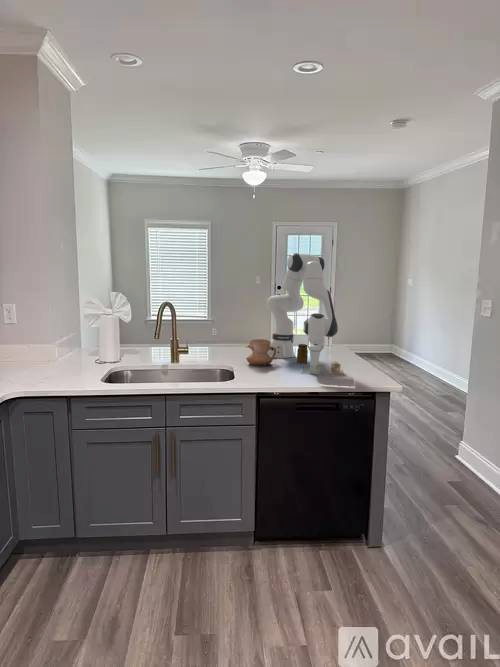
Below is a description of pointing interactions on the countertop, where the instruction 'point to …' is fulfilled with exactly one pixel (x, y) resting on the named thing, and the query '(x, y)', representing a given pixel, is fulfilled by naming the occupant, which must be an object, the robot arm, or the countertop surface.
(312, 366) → the sage block
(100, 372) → the countertop surface
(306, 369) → the grey flat slab
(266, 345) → the ceramic jug
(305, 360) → the condiment
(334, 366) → the maple block
